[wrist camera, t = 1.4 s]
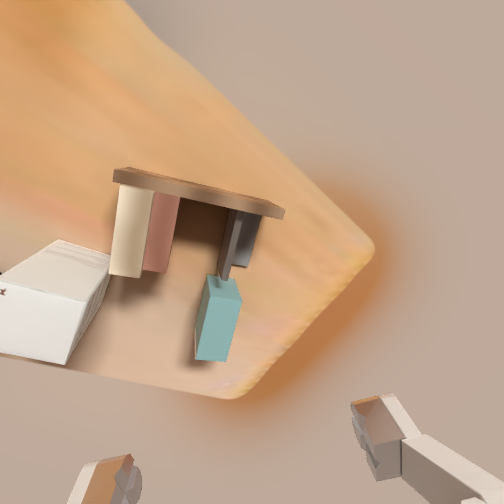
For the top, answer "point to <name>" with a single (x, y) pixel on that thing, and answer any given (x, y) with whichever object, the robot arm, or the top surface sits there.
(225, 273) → the book stack with bookend
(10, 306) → the supplement box
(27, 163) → the top surface
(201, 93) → the top surface
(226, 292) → the boxed book
